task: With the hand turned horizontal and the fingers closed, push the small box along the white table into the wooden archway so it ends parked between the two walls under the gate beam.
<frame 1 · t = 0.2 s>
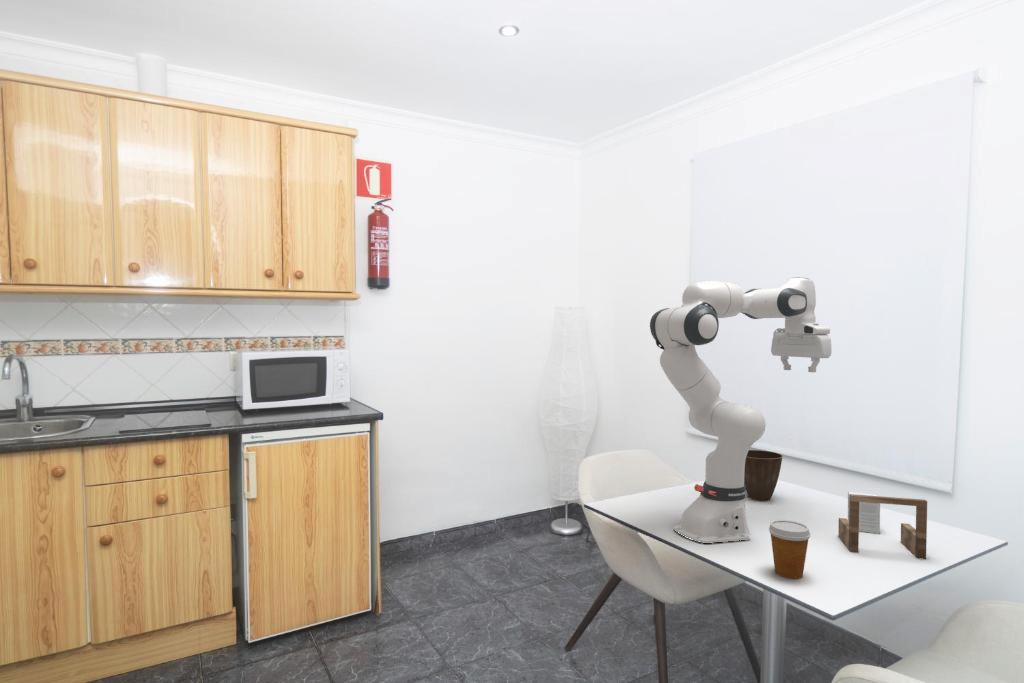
hand: (799, 371, 186), 47 cm above the table, tool pointing down, fingers open, 8 cm apart
wooden archway: (880, 547, 162), on the table
plant pot: (758, 498, 208), on the table
disposable coffee cup: (788, 574, 144), on the table
small box: (863, 530, 176), on the table
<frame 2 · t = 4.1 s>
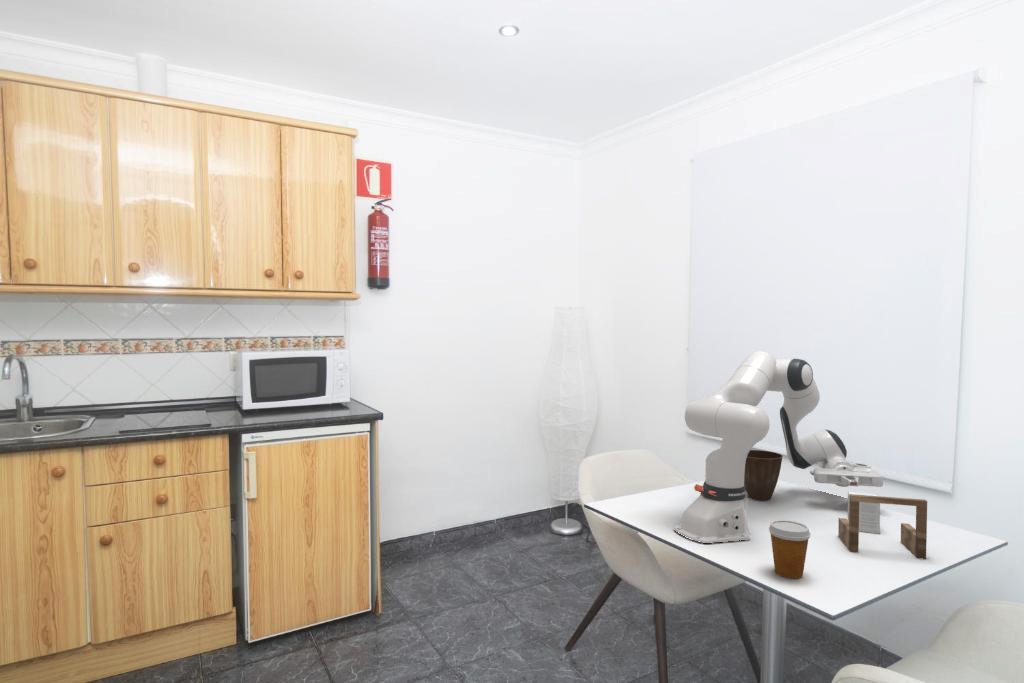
hand: (853, 483, 187), 11 cm above the table, tool horizontal, fingers closed
nothing on the table moved.
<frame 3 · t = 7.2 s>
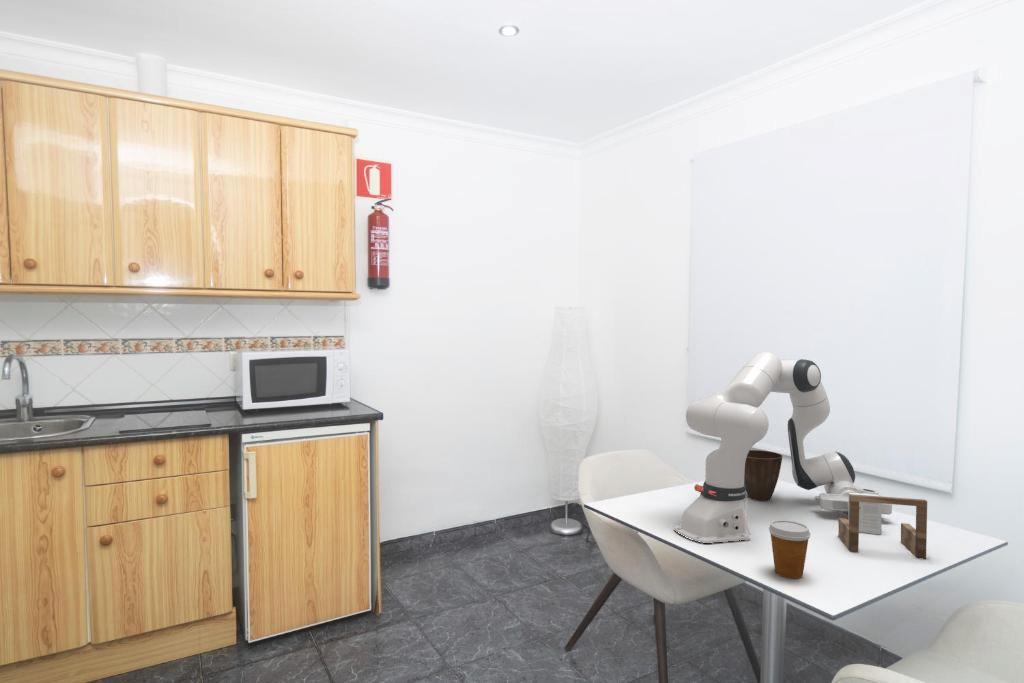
hand: (861, 511, 178), 5 cm above the table, tool horizontal, fingers closed
small box: (864, 530, 175), on the table, touching gripper
everything else where it was.
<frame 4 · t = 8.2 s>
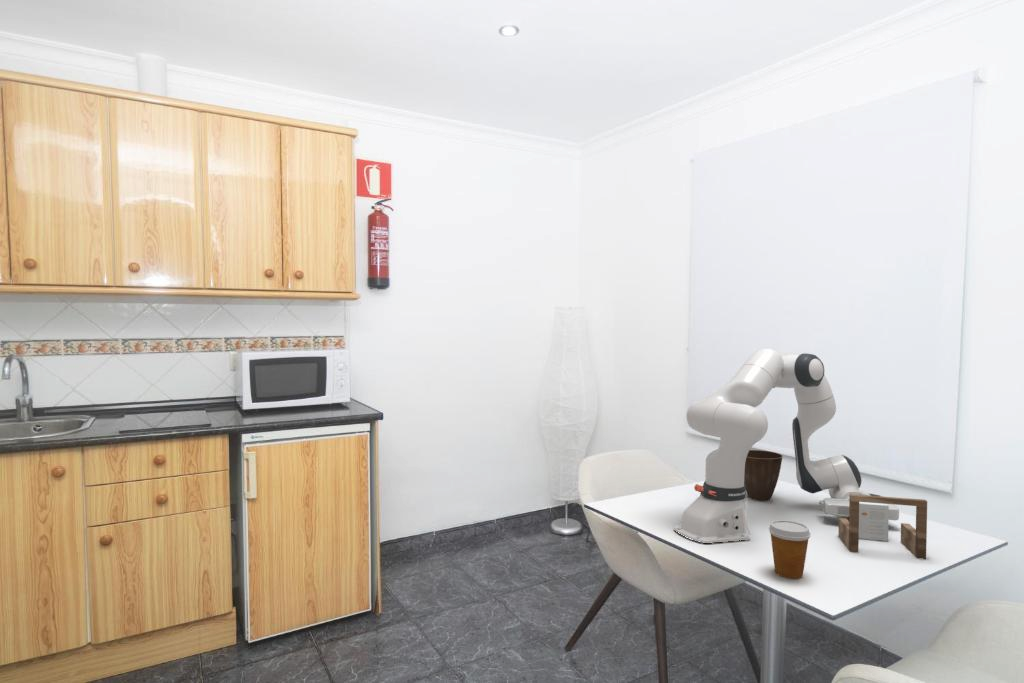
hand: (867, 517, 172), 5 cm above the table, tool horizontal, fingers closed, pressing on small box
small box: (869, 537, 170), on the table, touching gripper
everything else where it was.
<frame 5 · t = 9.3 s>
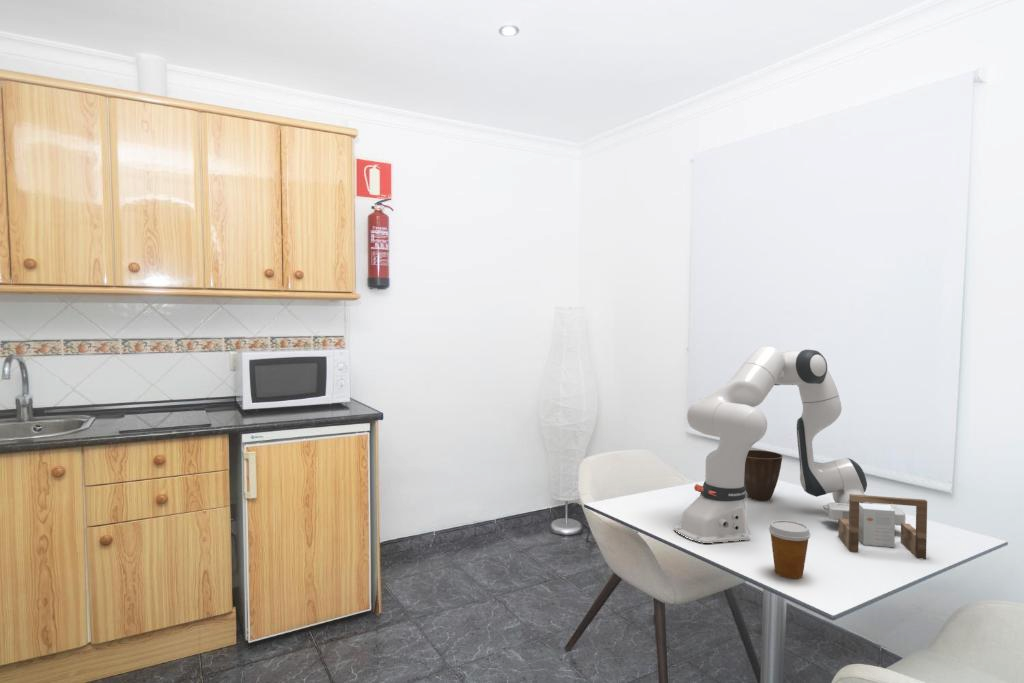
hand: (873, 522, 167), 5 cm above the table, tool horizontal, fingers closed, pressing on small box
small box: (875, 543, 165), on the table, touching gripper
everything else where it was.
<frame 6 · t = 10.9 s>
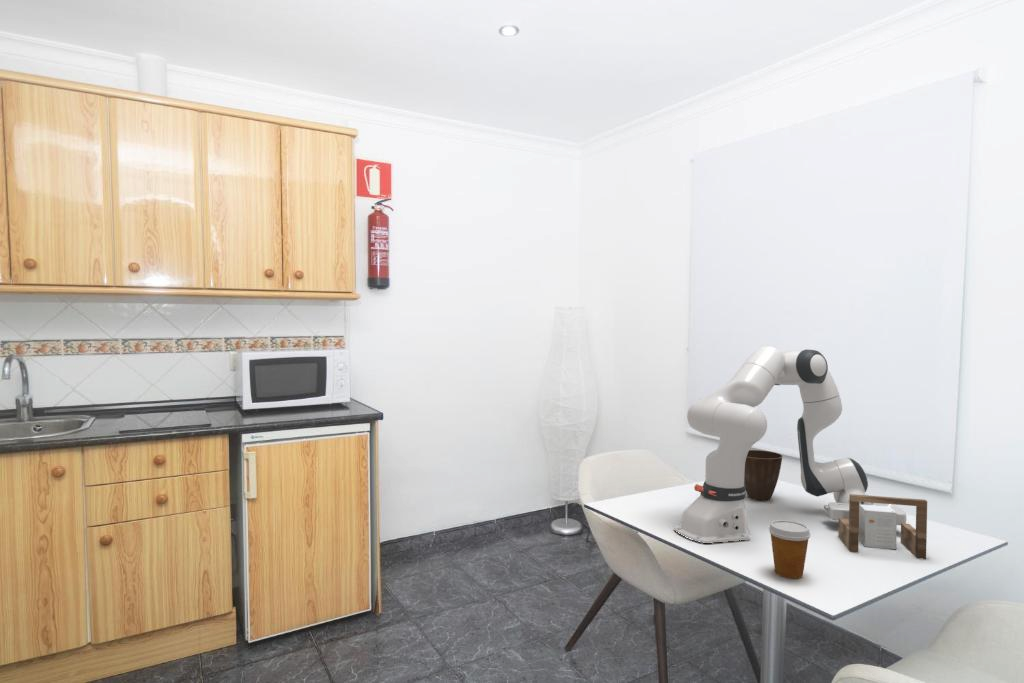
hand: (873, 522, 167), 5 cm above the table, tool horizontal, fingers closed
small box: (877, 545, 164), on the table
everything else where it was.
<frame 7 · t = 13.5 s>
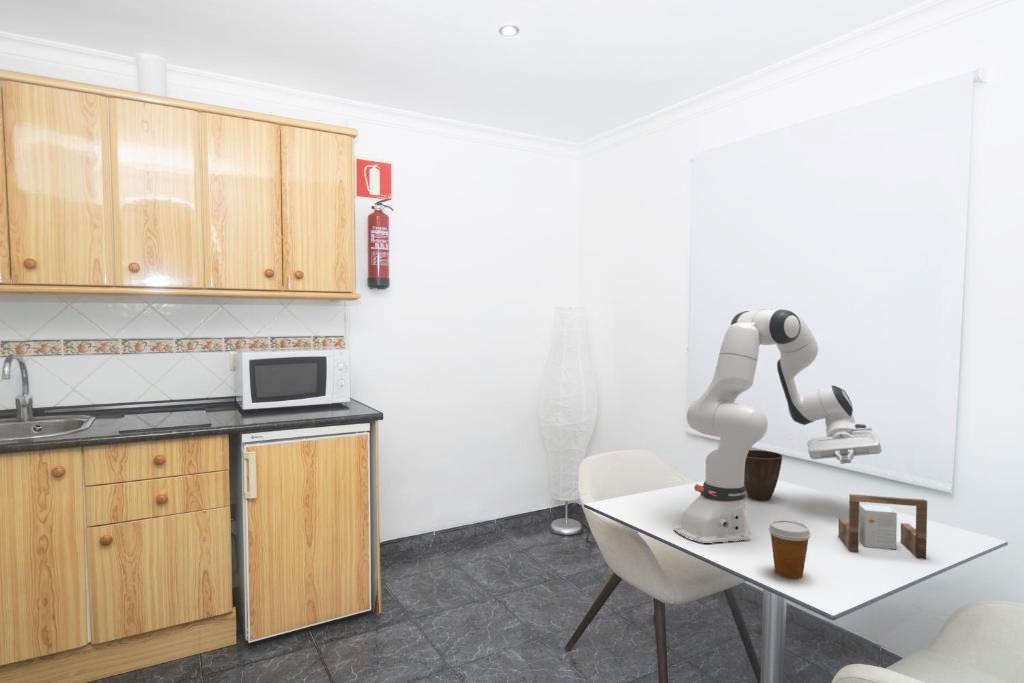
hand: (845, 461, 178), 20 cm above the table, tool tilted 65°, fingers closed
nothing on the table moved.
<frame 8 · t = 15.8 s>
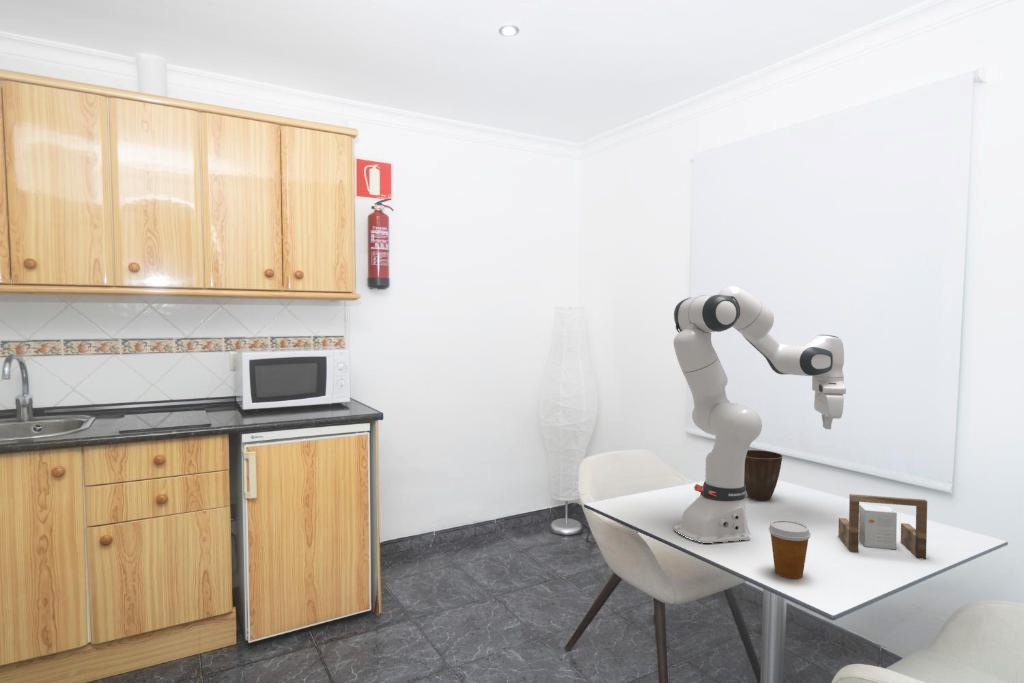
hand: (826, 428, 185), 29 cm above the table, tool pointing down, fingers closed
nothing on the table moved.
at the end: small box 2.0 cm from the wooden archway (horizontally); small box tilted 0° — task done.
